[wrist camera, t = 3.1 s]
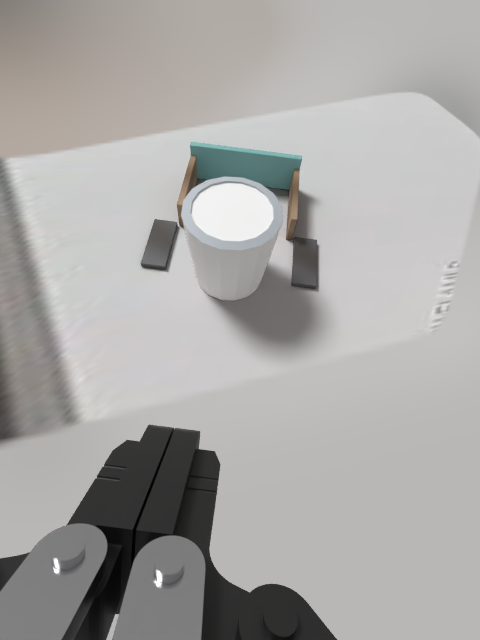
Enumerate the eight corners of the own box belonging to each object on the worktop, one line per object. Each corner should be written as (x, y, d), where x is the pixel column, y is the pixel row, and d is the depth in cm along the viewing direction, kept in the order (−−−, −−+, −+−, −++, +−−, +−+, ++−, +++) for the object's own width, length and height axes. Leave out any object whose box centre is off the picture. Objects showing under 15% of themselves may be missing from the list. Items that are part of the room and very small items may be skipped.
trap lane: (315, 288, 29) (323, 270, 27) (141, 266, 29) (135, 246, 27) (316, 193, 35) (322, 172, 33) (170, 174, 35) (167, 152, 33)
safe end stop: (294, 190, 35) (301, 159, 32) (192, 177, 35) (190, 145, 32) (294, 187, 35) (301, 156, 32) (193, 174, 35) (191, 141, 32)
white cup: (192, 312, 27) (186, 254, 21) (183, 245, 31) (176, 178, 24) (277, 302, 28) (294, 243, 22) (260, 238, 32) (271, 171, 25)
